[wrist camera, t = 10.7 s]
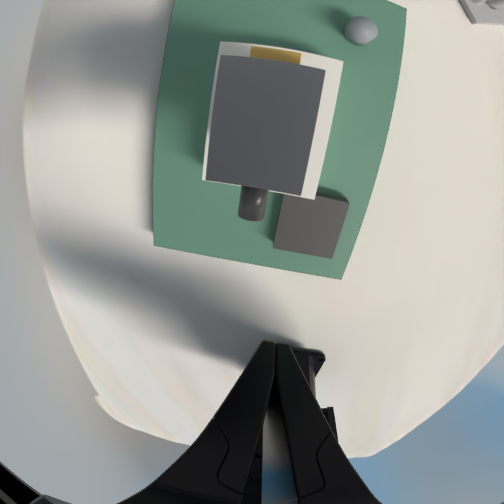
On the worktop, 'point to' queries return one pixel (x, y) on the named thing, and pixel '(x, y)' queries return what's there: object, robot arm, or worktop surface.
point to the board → (324, 140)
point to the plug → (263, 125)
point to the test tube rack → (484, 11)
